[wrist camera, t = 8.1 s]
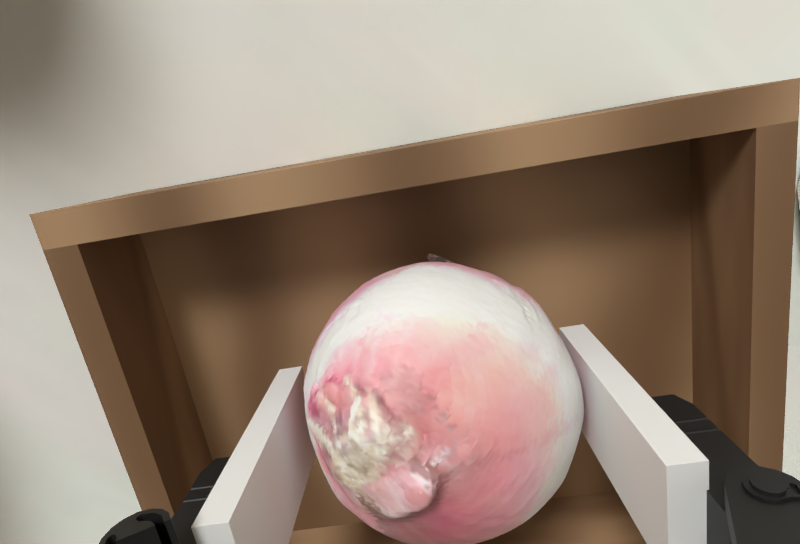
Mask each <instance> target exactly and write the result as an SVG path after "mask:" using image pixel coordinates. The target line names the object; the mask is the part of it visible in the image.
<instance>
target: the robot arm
mask: <svg viewBox="0 0 800 544" xmlns="http://www.w3.org/2000/svg"><path fill="white" fill-rule="evenodd" d="M559 332H560V337H561V339H562V340H563V342H564V344H565V346H566V348H567V350H568V352H569V354H570V356H571V359H572V361H573V363H574V365H575V367H576V370H577V373H578V375H579V379H580V382H581V387H582V394H583V402H584V419H583V424H582V428H581V431H582V433H583V435H584V436H585V438H586V440H587V441H588V443H589V445H590V447H591V448H592V450H593V452H594V454H595V455H596V457H597V459H598V460H599V462H600V464H601V466H602V467H603V469H604V471H605V473H606V474H607V476H608V478H609V479H610V481H611V483H612V485H613V486H614V488H615V490H616V492H617V493H618V495H619V497H620V498H621V500H622V502H623V504H624V505H625V507H626V509H627V511H628V512H629V514H630V516H631V517H632V519H633V521H634V523H635V524H636V526H637V528H638V530H639V531H640V533H641V535H642V536H643V538H644V540H645V542H646V543H647V544H800V481H799V480H797V479H796V478H794V477H793V476H790V475H788V474H785V473H783V472H781V471H778V470H775V469H770V468H766V467H761V466H758V465H757V464H756V463H755V462H754V461H753V460H752V459H750V458H749V457H748V456H747V455H746V454H745V453H744V452H743V451H742V450H741V449H740V448H739V447H738V446H737V445H736V444H735V443H734V442H733V441H732V440H730V439H729V438H728V437H727V436H726V435H725V434H724V433H723V432H722V431H721V430H718V427H717V426H716V425H715V424H714V423H713V422H712V421H710V420H709V419H708V420H707V417H706V416H705V415H704V414H703V413H702V412H701V411H700V410H699V409H698V408H697V407H696V406H695V405H694V404H692V403H690V402H688V401H686V400H684V399H682V398H680V397H678V396H676V395H674V394H670V395H663V396H656V397H650V396H649V395H648V394H647V393H646V391H645V390H644V389H643V388H642V387H641V386H640V385H639V384H638V383H637V382H636V381H635V380H634V378H633V377H632V376H631V375H630V374H629V373H628V372H627V371H626V370H625V369H624V368H623V366H622V365H621V364H620V363H619V362H618V361H617V360H616V359H615V358H614V357H613V356H612V354H611V353H610V352H609V351H608V350H607V349H606V348H605V347H604V346H603V345H602V344H601V343H600V341H599V340H598V339H597V338H596V337H595V336H594V335H593V334H592V333H591V332H590V331H589V329H588V328H587V327H586V326H585V325H584V324H581V325H574V326H568V327H561V328H559ZM304 379H305V376H304V372H303V368H302V366H300V367H293V368H286V369H280V370H279V371H278V373H277V375H276V376H275V378H274V380H273V382H272V384H271V385H270V387H269V389H268V391H267V393H266V394H265V396H264V398H263V400H262V401H261V403H260V405H259V407H258V409H257V410H256V412H255V414H254V416H253V418H252V419H251V421H250V423H249V425H248V426H247V428H246V430H245V432H244V434H243V435H242V437H241V439H240V441H239V442H238V444H237V446H236V448H235V450H234V451H233V453H232V455H231V457H224V458H217V459H215V460H214V461H213V462H211V463H210V464H209V465H208V466H207V467H206V468H205V469H204V470H203V471H202V472H200V474H199V475H198V477H197V479H196V480H195V482H194V483H193V485H192V487H191V490H190V491H188V493H187V495H186V496H185V498H184V500H183V503H181V504H180V506H179V508H178V509H177V511H176V512H175V514H174V516H173V517H172V519H171V518H170V515H169V512H167V511H165V510H164V509H147V510H144V511H140V512H137V513H135V514H133V515H131V516H129V517H127V518H125V519H123V520H122V521H121V522H119V523H118V524H116V525H115V526H114V527H112V528H111V529H110V530H109V531H108V532H107V533H106V534H105V536H104V537H103V538H102V539H101V541H100V543H99V544H289V541H290V538H291V534H292V531H293V527H294V524H295V521H296V517H297V514H298V511H299V507H300V504H301V501H302V497H303V494H304V491H305V487H306V484H307V481H308V477H309V474H310V471H311V467H312V464H313V460H314V457H315V454H316V453H315V450H314V447H313V444H312V441H311V438H310V434H309V429H308V426H307V422H306V414H305V400H304V391H303V387H304Z"/></svg>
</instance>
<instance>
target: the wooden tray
mask: <svg viewBox="0 0 800 544" xmlns="http://www.w3.org/2000/svg"><path fill="white" fill-rule="evenodd" d="M799 94H800V78H797V79H790V80H783V81H776V82H770V83H763V84H756V85H749V86H743V87H736V88H729V89H722V90H716V91H709V92H702V93H695V94H689V95H682V96H676V97H670V98H665V99H659V100H653V101H648V102H642V103H637V104H631V105H625V106H620V107H614V108H608V109H603V110H597V111H592V112H586V113H580V114H575V115H569V116H563V117H558V118H552V119H547V120H541V121H535V122H530V123H524V124H518V125H513V126H507V127H502V128H496V129H490V130H485V131H479V132H474V133H468V134H462V135H457V136H451V137H445V138H440V139H434V140H429V141H423V142H417V143H412V144H406V145H400V146H395V147H389V148H384V149H378V150H372V151H367V152H361V153H355V154H350V155H344V156H339V157H333V158H327V159H322V160H316V161H310V162H305V163H299V164H294V165H288V166H282V167H277V168H271V169H266V170H260V171H254V172H249V173H243V174H237V175H232V176H226V177H221V178H215V179H209V180H204V181H198V182H192V183H187V184H181V185H176V186H170V187H164V188H159V189H153V190H147V191H142V192H137V193H132V194H127V195H122V196H117V197H113V198H108V199H103V200H98V201H93V202H88V203H84V204H79V205H74V206H69V207H64V208H59V209H55V210H50V211H45V212H40V213H35V214H30V217H31V220H32V222H33V225H34V228H35V230H36V233H37V236H38V238H39V241H40V243H41V246H42V249H43V251H44V254H45V257H46V259H47V262H48V264H49V267H50V270H51V272H52V275H53V278H54V280H55V283H56V286H57V288H58V291H59V293H60V296H61V299H62V301H63V304H64V307H65V309H66V312H67V315H68V317H69V320H70V322H71V325H72V328H73V330H74V333H75V336H76V338H77V341H78V343H79V346H80V349H81V351H82V354H83V357H84V359H85V362H86V365H87V367H88V370H89V372H90V375H91V378H92V380H93V383H94V386H95V388H96V391H97V394H98V396H99V399H100V401H101V404H102V407H103V409H104V412H105V415H106V417H107V420H108V422H109V425H110V428H111V430H112V433H113V436H114V438H115V441H116V444H117V446H118V449H119V451H120V454H121V457H122V459H123V462H124V465H125V467H126V470H127V473H128V475H129V478H130V480H131V483H132V486H133V488H134V491H135V494H136V496H137V499H138V501H139V504H140V507H141V509H142V511H144V510H147V509H164V510H165V511H167V512H169V515H170V518H171V519H172V517H173V516H174V514H175V512H176V511H177V509H178V508H179V506H180V504H181V503H183V500H184V498H185V496H186V495H187V493H188V491H190V490H191V487H192V485H193V483H194V482H195V480H196V479H197V477H198V475H199V474H200V472H202V471H203V470H204V469H205V468H206V467H207V466H208V465H209V464H210V463H211V462H213V461H214V460H215V459H217V458H224V457H231V455H232V453H233V451H234V450H235V448H236V446H237V444H238V442H239V441H240V439H241V437H242V435H243V434H244V432H245V430H246V428H247V426H248V425H249V423H250V421H251V419H252V418H253V416H254V414H255V412H256V410H257V409H258V407H259V405H260V403H261V401H262V400H263V398H264V396H265V394H266V393H267V391H268V389H269V387H270V385H271V384H272V382H273V380H274V378H275V376H276V375H277V373H278V371H279V370H280V369H286V368H293V367H300V366H302V368H303V372H304V376H305V374H306V371H307V367H308V364H309V358H310V356H311V353H312V350H313V348H314V346H315V343H316V341H317V339H318V337H319V335H320V334H321V332H322V330H323V328H324V326H325V325H326V323H327V322H328V320H329V319H330V316H331V314H332V313H333V312H334V311H335V310H336V309H337V308H338V307H339V306H340V304H341V303H342V302H343V301H345V300H346V299H347V298H348V297H349V296H350V295H351V294H352V293H354V291H355V290H357V289H358V288H359V287H360V286H361V285H362V284H364V283H366V282H367V281H369V280H371V279H373V278H374V277H377V276H379V275H381V274H383V273H385V272H388V271H390V270H394V269H397V268H399V267H403V266H407V265H411V264H415V263H421V262H427V261H428V259H427V255H428V254H434V255H436V256H440V257H443V258H445V259H447V260H449V261H451V262H454V263H456V264H461V265H464V266H467V267H471V268H474V269H478V270H482V271H486V272H489V273H491V274H494V275H496V276H498V277H500V278H502V279H504V280H505V281H507V282H508V283H510V284H511V285H513V286H516V287H520V288H522V289H523V290H524V291H525V292H526V293H528V294H529V295H530V296H531V297H532V298H533V299H534V300H535V301H536V302H537V303H538V304H539V305H540V306H541V308H542V309H543V311H544V312H545V313H546V315H547V316H548V318H549V319H550V321H551V323H552V325H553V326H554V328H555V329H556V331H557V332H558V334H559V336H560V332H559V328H561V327H568V326H574V325H581V324H584V325H585V326H586V327H587V328H588V329H589V331H590V332H591V333H592V334H593V335H594V336H595V337H596V338H597V339H598V340H599V341H600V343H601V344H602V345H603V346H604V347H605V348H606V349H607V350H608V351H609V352H610V353H611V354H612V356H613V357H614V358H615V359H616V360H617V361H618V362H619V363H620V364H621V365H622V366H623V368H624V369H625V370H626V371H627V372H628V373H629V374H630V375H631V376H632V377H633V378H634V380H635V381H636V382H637V383H638V384H639V385H640V386H641V387H642V388H643V389H644V390H645V391H646V393H647V394H648V395H649V396H650V397H656V396H663V395H670V394H674V395H676V396H678V397H680V398H682V399H684V400H686V401H688V402H690V403H692V404H694V405H695V406H696V407H697V408H698V409H699V410H700V411H701V412H702V413H703V414H704V415H705V416H706V417H707V420H708V419H709V420H710V421H712V422H713V423H714V424H715V425H716V426H717V427H718V430H721V431H722V432H723V433H724V434H725V435H726V436H727V437H728V438H729V439H730V440H732V441H733V442H734V443H735V444H736V445H737V446H738V447H739V448H740V449H741V450H742V451H743V452H744V453H745V454H746V455H747V456H748V457H749V458H750V459H752V460H753V461H754V462H755V463H756V464H757V465H758V466H761V467H766V468H770V469H775V470H778V471H781V472H782V461H783V440H784V418H785V397H786V375H787V353H788V332H789V310H790V289H791V267H792V245H793V224H794V202H795V180H796V159H797V137H798V116H799ZM289 544H408V543H404V542H401V541H398V540H396V539H393V538H391V537H388V536H386V535H384V534H382V533H380V532H378V531H377V530H375V529H373V528H372V527H370V526H369V525H367V524H366V523H365V522H363V521H362V520H361V519H360V518H358V517H357V516H356V515H355V514H354V513H352V512H351V511H350V510H349V509H348V508H346V507H345V506H344V505H343V504H342V503H341V502H340V501H339V500H338V498H337V497H336V495H335V494H334V492H333V491H332V489H331V487H330V485H329V483H328V481H327V478H326V476H325V475H324V473H323V470H322V468H321V465H320V463H319V460H318V458H317V456H316V454H315V457H314V460H313V464H312V467H311V471H310V474H309V477H308V481H307V484H306V487H305V491H304V494H303V497H302V501H301V504H300V507H299V511H298V514H297V517H296V521H295V524H294V527H293V531H292V534H291V538H290V541H289ZM476 544H647V543H646V542H645V540H644V538H643V536H642V535H641V533H640V531H639V530H638V528H637V526H636V524H635V523H634V521H633V519H632V517H631V516H630V514H629V512H628V511H627V509H626V507H625V505H624V504H623V502H622V500H621V498H620V497H619V495H618V493H617V492H616V490H615V488H614V486H613V485H612V483H611V481H610V479H609V478H608V476H607V474H606V473H605V471H604V469H603V467H602V466H601V464H600V462H599V460H598V459H597V457H596V455H595V454H594V452H593V450H592V448H591V447H590V445H589V443H588V441H587V440H586V438H585V436H584V435H583V433H582V431H581V433H580V436H579V440H578V444H577V447H576V451H575V453H574V456H573V459H572V462H571V465H570V467H569V470H568V473H567V475H566V477H565V479H564V481H563V483H562V484H561V486H560V487H559V488H558V490H557V491H556V492H555V493H554V495H553V496H552V497H551V498H550V499H549V500H548V501H547V503H546V504H545V505H544V506H543V507H542V508H541V509H540V510H539V511H538V512H537V513H536V514H534V515H533V516H532V517H531V518H530V519H528V520H527V521H526V522H524V523H523V524H521V525H519V526H518V527H516V528H514V529H512V530H511V531H508V532H506V533H504V534H502V535H500V536H497V537H495V538H493V539H489V540H486V541H483V542H480V543H476Z"/></svg>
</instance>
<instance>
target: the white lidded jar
mask: <svg viewBox="0 0 800 544" xmlns="http://www.w3.org/2000/svg"><path fill="white" fill-rule="evenodd" d="M797 190H798V199H799V208H800V179H799V183H798V188H797Z"/></svg>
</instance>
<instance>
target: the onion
mask: <svg viewBox="0 0 800 544" xmlns="http://www.w3.org/2000/svg"><path fill="white" fill-rule="evenodd" d="M427 259H428V261H427V262H421V263H415V264H411V265H407V266H403V267H399V268H397V269H394V270H390V271H388V272H385V273H383V274H381V275H379V276H377V277H374V278H373V279H371V280H369V281H367V282H366V283H364V284H362V285H361V286H360V287H359V288H358V289H357V290H355V291H354V293H352V294H351V295H350V296H349V297H348V298H347V299H346V300H345V301H343V302H342V303H341V304H340V306H339V307H338V308H337V309H336V310H335V311H334V312H333V313H332V314H331V316H330V319H329V320H328V322H327V323H326V325H325V326H324V328H323V330H322V332H321V334H320V335H319V337H318V339H317V341H316V343H315V346H314V348H313V350H312V353H311V356H310V358H309V364H308V367H307V371H306V374H305V379H304V387H303V391H304V400H305V414H306V422H307V426H308V429H309V434H310V438H311V441H312V444H313V447H314V450H315V453H316V456H317V458H318V460H319V463H320V465H321V468H322V470H323V473H324V475H325V476H326V478H327V481H328V483H329V485H330V487H331V489H332V491H333V492H334V494H335V495H336V497H337V498H338V500H339V501H340V502H341V503H342V504H343V505H344V506H345V507H346V508H348V509H349V510H350V511H351V512H352V513H354V514H355V515H356V516H357V517H358V518H360V519H361V520H362V521H363V522H365V523H366V524H367V525H369V526H370V527H372V528H373V529H375V530H377V531H378V532H380V533H382V534H384V535H386V536H388V537H391V538H393V539H396V540H398V541H401V542H404V543H408V544H476V543H480V542H483V541H486V540H489V539H493V538H495V537H497V536H500V535H502V534H504V533H506V532H508V531H511V530H512V529H514V528H516V527H518V526H519V525H521V524H523V523H524V522H526V521H527V520H528V519H530V518H531V517H532V516H533V515H534V514H536V513H537V512H538V511H539V510H540V509H541V508H542V507H543V506H544V505H545V504H546V503H547V501H548V500H549V499H550V498H551V497H552V496H553V495H554V493H555V492H556V491H557V490H558V488H559V487H560V486H561V484H562V483H563V481H564V479H565V477H566V475H567V473H568V470H569V467H570V465H571V462H572V459H573V456H574V453H575V451H576V447H577V444H578V440H579V436H580V433H581V428H582V424H583V419H584V402H583V394H582V387H581V382H580V379H579V375H578V373H577V370H576V367H575V365H574V363H573V361H572V359H571V356H570V354H569V352H568V350H567V348H566V346H565V344H564V342H563V340H562V339H561V337H560V336H559V334H558V332H557V331H556V329H555V328H554V326H553V325H552V323H551V321H550V319H549V318H548V316H547V315H546V313H545V312H544V311H543V309H542V308H541V306H540V305H539V304H538V303H537V302H536V301H535V300H534V299H533V298H532V297H531V296H530V295H529V294H528V293H526V292H525V291H524V290H523V289H522V288H520V287H516V286H513V285H511V284H510V283H508V282H507V281H505V280H504V279H502V278H500V277H498V276H496V275H494V274H491V273H489V272H486V271H482V270H478V269H474V268H471V267H467V266H464V265H461V264H456V263H454V262H451V261H449V260H447V259H445V258H443V257H440V256H436V255H434V254H428V255H427Z"/></svg>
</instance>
